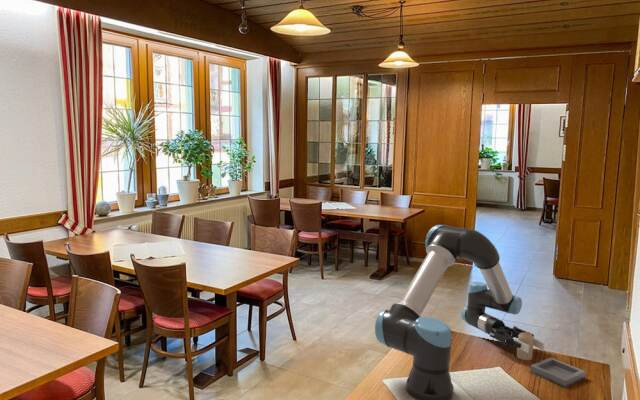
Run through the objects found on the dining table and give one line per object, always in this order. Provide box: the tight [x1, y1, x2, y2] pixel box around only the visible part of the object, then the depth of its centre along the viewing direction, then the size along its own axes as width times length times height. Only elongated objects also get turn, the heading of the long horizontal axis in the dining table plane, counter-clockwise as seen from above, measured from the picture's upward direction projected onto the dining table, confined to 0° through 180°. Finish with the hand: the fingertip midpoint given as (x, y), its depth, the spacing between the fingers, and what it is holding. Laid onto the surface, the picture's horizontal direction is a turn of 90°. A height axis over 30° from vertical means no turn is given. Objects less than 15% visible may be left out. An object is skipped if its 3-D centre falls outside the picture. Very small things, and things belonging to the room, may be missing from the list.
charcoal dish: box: [529, 357, 587, 389], centre depth 173 cm, size 13×13×2 cm
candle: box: [516, 331, 535, 361], centre depth 186 cm, size 6×6×10 cm
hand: (536, 347), depth 181 cm, fingers open, 7 cm apart
